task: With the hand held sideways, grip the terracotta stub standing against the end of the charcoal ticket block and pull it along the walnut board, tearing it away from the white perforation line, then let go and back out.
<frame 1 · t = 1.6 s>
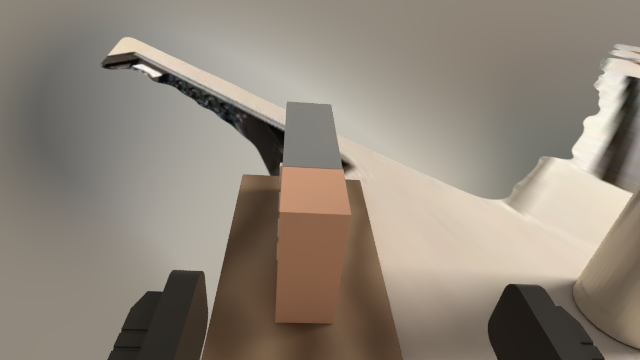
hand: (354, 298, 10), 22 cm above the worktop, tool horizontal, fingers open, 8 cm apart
walnut board: (302, 272, 41), on the worktop
charcoal ticket block: (302, 224, 45), resting on walnut board
terracotta stub: (308, 247, 33), point 8 cm above the worktop, slide at 0.0 cm
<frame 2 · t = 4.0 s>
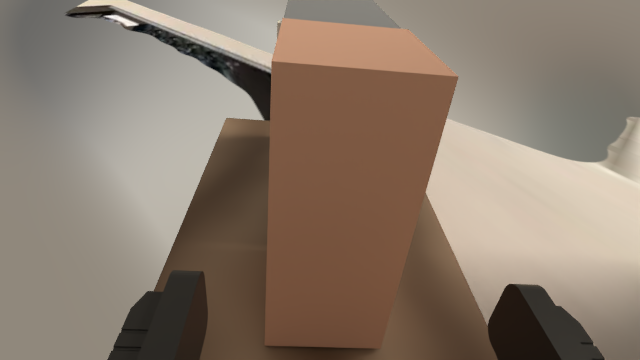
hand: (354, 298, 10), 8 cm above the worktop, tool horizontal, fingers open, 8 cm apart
walnut board: (315, 255, 24), on the worktop
charcoal ticket block: (315, 181, 28), resting on walnut board
terracotta stub: (334, 192, 16), point 8 cm above the worktop, slide at 0.0 cm
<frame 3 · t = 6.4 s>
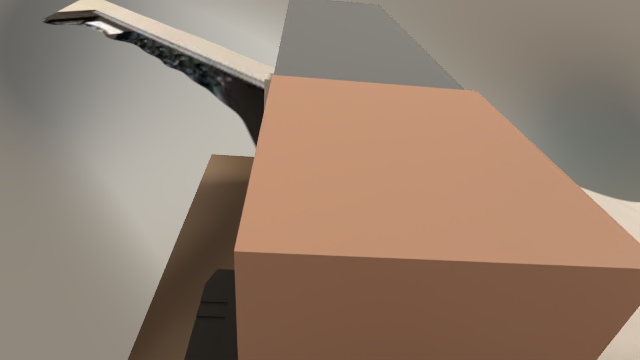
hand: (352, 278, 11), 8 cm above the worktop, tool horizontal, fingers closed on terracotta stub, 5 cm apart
charcoal ticket block: (319, 248, 22), resting on walnut board
terracotta stub: (355, 346, 10), point 8 cm above the worktop, slide at 0.0 cm, touching gripper
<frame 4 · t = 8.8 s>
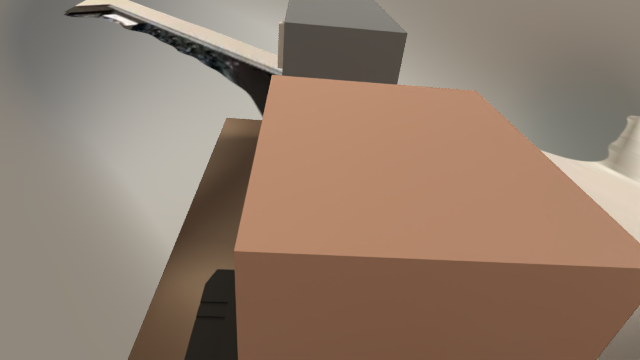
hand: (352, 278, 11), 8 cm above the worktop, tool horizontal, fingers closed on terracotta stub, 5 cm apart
walnut board: (316, 256, 24), on the worktop
charcoal ticket block: (316, 182, 28), resting on walnut board
terracotta stub: (355, 346, 10), point 8 cm above the worktop, slide at 6.9 cm, touching gripper
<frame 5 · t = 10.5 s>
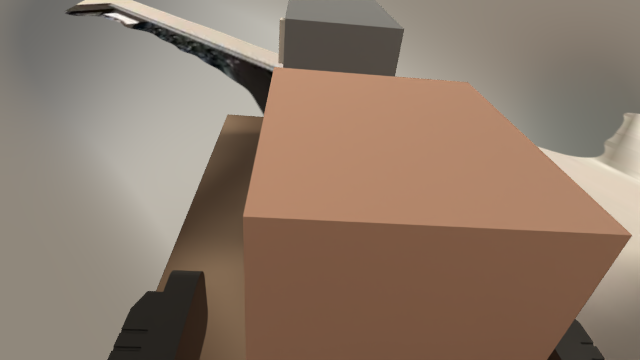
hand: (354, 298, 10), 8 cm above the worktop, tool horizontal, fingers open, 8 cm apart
walnut board: (316, 248, 24), on the worktop
charcoal ticket block: (316, 176, 29), resting on walnut board
terracotta stub: (353, 326, 11), point 8 cm above the worktop, slide at 7.0 cm
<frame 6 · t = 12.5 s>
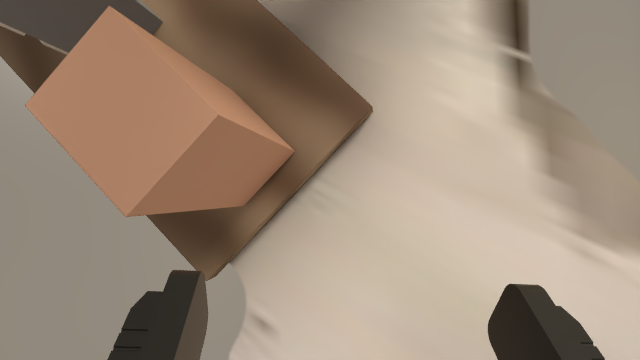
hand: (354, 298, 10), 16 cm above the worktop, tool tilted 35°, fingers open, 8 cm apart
walnut board: (143, 47, 29), on the worktop
terracotta stub: (195, 134, 20), point 8 cm above the worktop, slide at 7.0 cm
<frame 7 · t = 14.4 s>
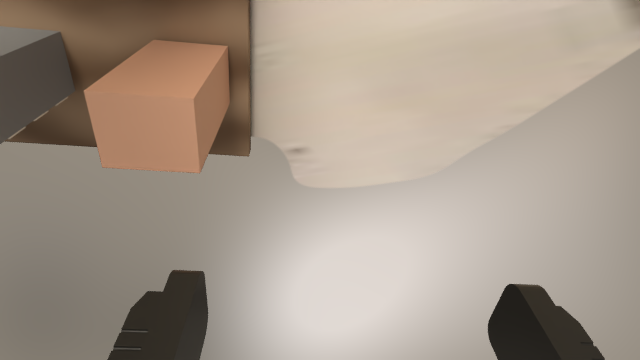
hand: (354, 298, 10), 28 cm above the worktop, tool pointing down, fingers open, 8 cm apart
walnut board: (64, 56, 34), on the worktop
terracotta stub: (173, 98, 28), point 8 cm above the worktop, slide at 7.0 cm
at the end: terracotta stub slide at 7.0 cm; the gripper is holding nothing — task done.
